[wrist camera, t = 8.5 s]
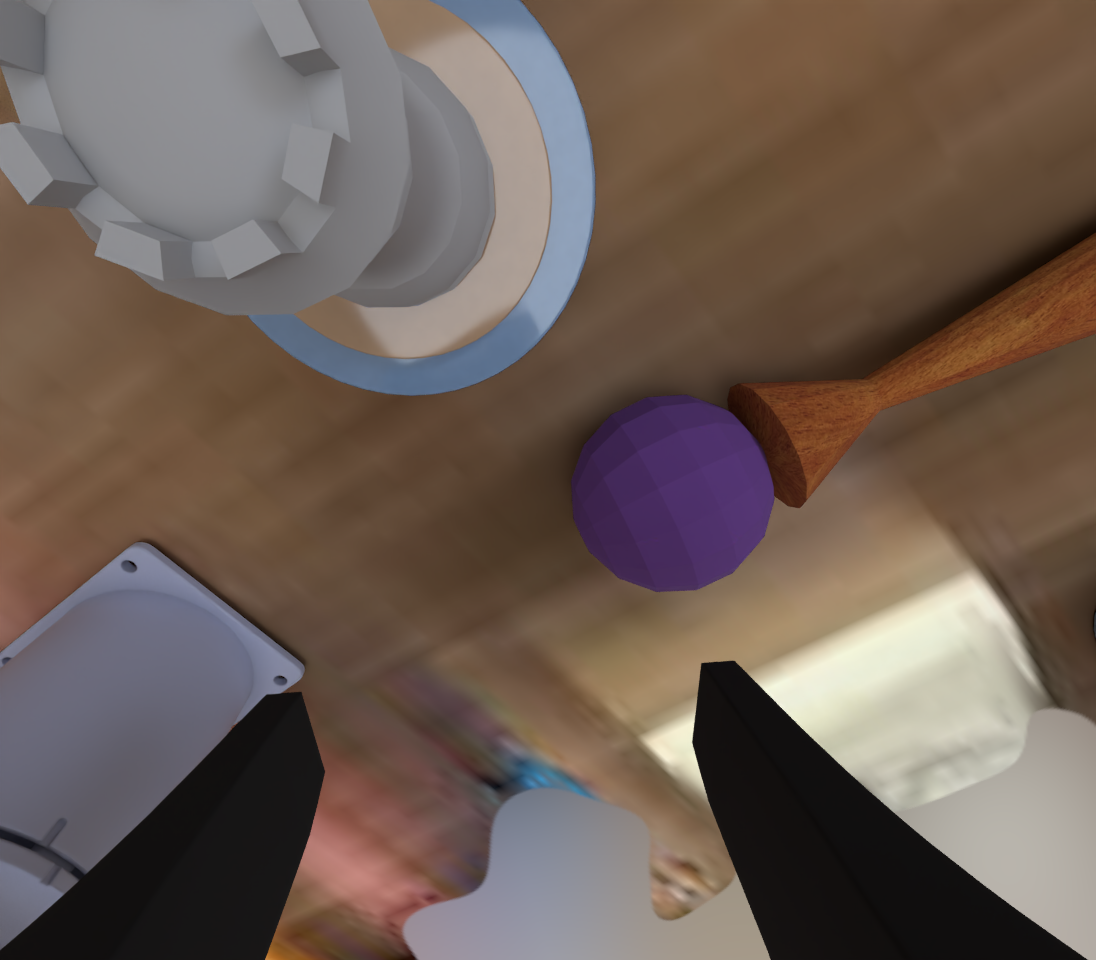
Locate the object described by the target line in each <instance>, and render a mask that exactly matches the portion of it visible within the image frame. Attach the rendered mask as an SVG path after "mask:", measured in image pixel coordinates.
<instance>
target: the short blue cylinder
mask: <svg viewBox="0 0 1096 960" xmlns="http://www.w3.org/2000/svg"><path fill="white" fill-rule="evenodd" d="M368 2H369V4H370V7H371V9H372V11H373V14H374V16H375V18H376V20H377V23H378V25H379V27H380V29H381V32H382V34H383V36H384V38H385V41H386V43H387V45H388V47H389V48H391V49H393V50H395V51H397V52H399V53H401V54H403V55H405V56H408V57H410V58H412V59H414V60H416V61H418V62H420V63H422V64H424V65H426V66H428V67H429V68H430V69H431V70H432V71H433V72H434V73H435V74H436V75H437V76H438V78H439V79H440V80H441V81H442V82H443V83H444V84H445V85H446V87H447V88H448V89H449V90H450V91H451V92H452V93H453V94H454V95H455V97H456V98H457V99H458V100H459V101H460V102H461V103H462V104H463V106H464V107H465V108H466V109H467V111H468V112H469V113H470V115H471V116H472V117H473V118H474V121H475V123H476V126H477V128H478V131H479V133H480V136H481V138H482V141H483V143H484V146H485V148H486V151H487V153H488V155H489V158H490V160H491V163H492V165H493V183H494V205H495V216H494V219H493V223H492V226H491V229H490V232H489V235H488V238H487V241H486V244H485V247H484V250H483V253H482V256H481V258H480V260H479V261H478V262H477V263H476V264H475V265H474V267H473V268H472V269H471V270H470V271H469V272H468V273H467V275H466V276H465V277H464V278H463V279H462V280H461V282H460V283H459V284H458V285H457V286H456V287H455V289H453V290H451V291H449V292H447V293H445V294H442V295H440V296H438V297H436V298H434V299H432V300H430V301H427V302H425V303H423V304H421V305H419V306H411V307H374V308H367V307H364V306H362V305H359V304H357V303H354V302H352V301H349V300H346V299H344V298H341V297H339V296H336V295H332V296H330V297H328V298H326V299H324V300H322V301H320V302H318V303H316V304H314V305H311V306H309V307H307V308H305V309H303V310H301V311H299V312H297V313H295V314H273V315H247V316H248V317H249V318H250V319H251V321H252V322H253V323H254V324H255V325H256V326H258V327H259V328H260V329H261V330H262V331H263V332H264V333H265V334H266V335H267V336H268V337H269V338H270V339H271V340H272V341H273V342H275V343H276V344H277V345H279V346H280V347H281V348H283V349H284V350H285V351H287V352H288V353H289V354H291V355H292V356H293V357H294V358H296V359H298V360H299V361H301V362H303V363H304V364H306V365H308V366H309V367H311V368H313V369H314V370H316V371H318V372H320V373H322V374H324V375H326V376H329V377H331V378H333V379H335V380H337V381H340V382H342V383H345V384H349V385H352V386H355V387H358V388H361V389H364V390H369V391H374V392H379V393H384V394H393V395H407V396H417V395H434V394H440V393H445V392H450V391H456V390H459V389H462V388H465V387H468V386H471V385H474V384H477V383H480V382H482V381H484V380H486V379H488V378H490V377H492V376H494V375H496V374H498V373H500V372H502V371H503V370H505V369H506V368H508V367H509V366H511V365H512V364H514V363H515V362H517V361H518V360H519V359H521V358H522V357H523V356H524V355H525V354H526V353H527V352H529V351H530V350H531V349H532V348H533V347H534V346H536V344H537V343H538V342H539V341H540V340H541V339H542V338H543V337H544V335H545V334H546V333H547V332H548V331H549V330H550V329H551V328H552V326H553V325H554V323H555V322H556V320H557V319H558V317H559V316H560V314H561V313H562V311H563V310H564V308H565V307H566V305H567V303H568V301H569V299H570V297H571V295H572V293H573V291H574V289H575V287H576V285H577V283H578V280H579V278H580V275H581V272H582V269H583V267H584V264H585V261H586V258H587V253H588V249H589V245H590V241H591V236H592V231H593V222H594V213H595V205H596V191H595V166H594V158H593V149H592V142H591V138H590V134H589V130H588V125H587V121H586V117H585V113H584V110H583V107H582V104H581V102H580V99H579V96H578V93H577V90H576V88H575V85H574V82H573V80H572V78H571V76H570V74H569V72H568V70H567V68H566V66H565V64H564V62H563V60H562V58H561V56H560V54H559V52H558V50H557V49H556V47H555V46H554V44H553V43H552V41H551V40H550V38H549V37H548V35H547V34H546V32H545V31H544V29H543V27H542V26H541V24H540V23H539V22H538V21H537V20H536V18H535V17H534V16H533V15H532V14H531V12H530V11H529V10H528V9H527V8H526V7H525V5H524V4H523V3H522V2H521V1H520V0H368Z"/></svg>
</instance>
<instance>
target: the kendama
mask: <svg viewBox="0 0 1096 960" xmlns="http://www.w3.org/2000/svg"><path fill="white" fill-rule="evenodd" d="M1093 334H1096V233H1094V234H1093V235H1091V236H1089V237H1088V238H1086V239H1085V240H1083V241H1081V242H1080V243H1078V244H1077V245H1075V246H1073V247H1072V248H1070V249H1069V250H1067V251H1065V252H1064V253H1062V254H1061V255H1059V256H1057V257H1056V258H1054V259H1053V260H1051V261H1049V262H1048V263H1046V264H1045V265H1043V266H1041V267H1040V268H1038V269H1037V270H1035V271H1034V272H1032V273H1030V274H1029V275H1027V276H1026V277H1024V278H1022V279H1021V280H1019V281H1018V282H1016V283H1014V284H1013V285H1011V286H1010V287H1008V288H1006V289H1005V290H1003V291H1002V292H1000V293H998V294H997V295H995V296H994V297H992V298H990V299H989V300H987V301H986V302H984V303H982V304H981V305H979V306H978V307H976V308H974V309H973V310H971V311H970V312H968V313H966V314H965V315H963V316H962V317H960V318H958V319H957V320H955V321H954V322H952V323H950V324H949V325H947V326H946V327H944V328H943V329H941V330H939V331H938V332H936V333H935V334H933V335H931V336H930V337H928V338H927V339H925V340H923V341H922V342H920V343H919V344H917V345H915V346H914V347H912V348H911V349H909V350H907V351H906V352H904V353H903V354H901V355H899V356H898V357H896V358H895V359H893V360H891V361H890V362H888V363H887V364H885V365H883V366H882V367H880V368H879V369H877V370H875V371H874V372H872V373H871V374H869V375H867V376H866V377H864V378H863V379H856V380H827V381H798V382H769V383H741V384H737V385H735V386H733V387H731V388H730V391H729V395H728V399H727V400H728V408H729V411H727V410H726V409H724V408H722V407H719V406H716V405H714V404H711V403H708V402H705V401H702V400H699V399H697V398H694V397H691V396H688V395H674V396H659V397H646V398H644V399H642V400H640V401H638V402H636V403H634V404H632V405H630V406H628V407H626V408H624V409H622V410H620V411H618V412H616V413H614V414H612V415H610V416H609V418H608V419H607V420H606V421H605V422H604V423H603V424H602V425H601V427H600V428H599V429H598V430H597V431H596V432H595V433H594V434H593V436H592V437H591V438H590V439H589V440H588V441H587V442H586V443H585V444H584V446H583V449H582V451H581V454H580V457H579V460H578V463H577V466H576V468H575V471H574V474H573V477H572V480H571V486H572V503H573V519H574V521H575V524H576V526H577V528H578V530H579V532H580V534H581V536H582V538H583V540H584V542H585V544H586V546H587V548H588V550H589V552H590V553H591V554H593V555H594V556H595V557H596V558H597V559H598V560H599V561H600V562H601V563H603V564H604V565H605V566H606V567H607V568H608V569H609V570H610V571H611V572H613V573H614V574H615V575H616V576H617V577H618V578H620V579H622V580H625V581H628V582H631V583H633V584H636V585H639V586H642V587H645V588H647V589H650V590H653V591H656V592H663V591H687V590H698V589H700V588H702V587H704V586H706V585H708V584H710V583H713V582H715V581H717V580H719V579H721V578H723V577H725V576H727V575H730V574H732V573H733V572H734V571H735V570H736V569H737V567H738V566H739V565H740V564H741V563H742V562H743V561H744V559H745V558H746V557H747V556H748V555H749V554H750V553H751V551H752V550H753V549H754V548H755V547H756V546H757V545H758V543H759V542H760V541H761V540H762V538H763V537H764V536H765V532H766V528H767V525H768V521H769V517H770V514H771V510H772V506H773V503H774V496H775V497H777V498H778V499H779V500H781V501H782V502H783V503H785V504H786V505H787V506H790V507H796V508H800V507H801V506H802V505H803V504H804V503H805V502H806V501H807V499H808V498H809V497H810V496H811V494H812V493H813V492H814V491H815V489H816V488H817V487H818V486H819V485H820V483H821V482H822V481H823V480H824V478H825V477H826V476H827V475H828V473H829V472H830V471H831V470H832V468H833V467H834V466H835V465H836V464H837V462H838V461H839V460H840V459H841V457H842V456H843V455H844V454H845V452H846V451H847V450H848V449H849V448H850V446H851V445H852V444H853V443H854V441H855V440H856V439H857V438H858V436H859V435H860V434H861V433H862V432H863V430H864V429H865V428H866V427H867V425H868V424H869V423H870V422H871V420H872V419H873V418H874V417H875V416H876V414H877V413H878V412H879V411H880V410H883V409H886V408H889V407H892V406H894V405H897V404H900V403H903V402H906V401H908V400H911V399H914V398H917V397H920V396H922V395H925V394H928V393H931V392H934V391H936V390H939V389H942V388H945V387H948V386H950V385H953V384H956V383H959V382H962V381H964V380H967V379H970V378H973V377H976V376H978V375H981V374H984V373H987V372H990V371H992V370H995V369H998V368H1001V367H1004V366H1006V365H1009V364H1012V363H1015V362H1018V361H1020V360H1023V359H1026V358H1029V357H1032V356H1034V355H1037V354H1040V353H1043V352H1046V351H1048V350H1051V349H1054V348H1057V347H1060V346H1062V345H1065V344H1068V343H1071V342H1074V341H1076V340H1079V339H1082V338H1085V337H1088V336H1090V335H1093Z"/></svg>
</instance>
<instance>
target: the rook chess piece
mask: <svg viewBox="0 0 1096 960" xmlns="http://www.w3.org/2000/svg"><path fill="white" fill-rule="evenodd" d="M0 66H1V69H2V72H3V74H4V77H5V80H6V83H7V86H8V89H9V92H10V94H11V97H12V100H13V103H14V106H15V109H16V111H17V114H18V117H19V120H20V123H21V124H18V123H14V122H11V123H6V124H2V125H0V168H1V169H2V171H3V172H4V173H5V175H6V176H7V177H8V179H9V180H10V181H11V183H12V184H13V185H14V187H15V188H16V189H17V191H18V192H19V193H20V195H21V196H22V197H23V199H24V200H25V201H26V203H27V204H28V205H39V206H51V207H62V208H68V209H69V210H70V212H71V213H72V214H73V216H74V217H75V219H76V220H77V221H78V223H79V224H80V225H81V227H82V228H83V230H84V231H85V232H86V234H87V235H88V236H89V238H90V239H91V240H93V241H94V242H95V243H97V244H98V246H97V249H96V252H95V256H97V257H100V258H103V259H106V260H108V261H111V262H114V263H117V264H119V265H122V266H125V267H127V268H129V269H130V270H132V271H133V272H134V273H135V274H137V275H138V276H139V277H141V278H142V279H143V280H145V281H146V282H147V283H148V284H150V285H151V286H152V287H154V288H155V289H156V290H159V291H161V292H164V293H167V294H170V295H172V296H175V297H178V298H181V299H183V300H186V301H189V302H192V303H194V304H197V305H200V306H203V307H205V308H208V309H211V310H214V311H216V312H219V313H222V314H225V315H273V314H295V313H297V312H299V311H301V310H303V309H305V308H307V307H309V306H311V305H314V304H316V303H318V302H320V301H322V300H324V299H326V298H328V297H330V296H332V295H336V296H339V297H341V298H344V299H346V300H349V301H352V302H354V303H357V304H359V305H362V306H364V307H367V308H374V307H411V306H419V305H421V304H423V303H425V302H427V301H430V300H432V299H434V298H436V297H438V296H440V295H442V294H445V293H447V292H449V291H451V290H453V289H455V287H456V286H457V285H458V284H459V283H460V282H461V280H462V279H463V278H464V277H465V276H466V275H467V273H468V272H469V271H470V270H471V269H472V268H473V267H474V265H475V264H476V263H477V262H478V261H479V260H480V258H481V256H482V253H483V250H484V247H485V244H486V241H487V238H488V235H489V232H490V229H491V226H492V223H493V219H494V216H495V205H494V183H493V165H492V163H491V160H490V158H489V155H488V153H487V151H486V148H485V146H484V143H483V141H482V138H481V136H480V133H479V131H478V128H477V126H476V123H475V121H474V118H473V117H472V116H471V115H470V113H469V112H468V111H467V109H466V108H465V107H464V106H463V104H462V103H461V102H460V101H459V100H458V99H457V98H456V97H455V95H454V94H453V93H452V92H451V91H450V90H449V89H448V88H447V87H446V85H445V84H444V83H443V82H442V81H441V80H440V79H439V78H438V76H437V75H436V74H435V73H434V72H433V71H432V70H431V69H430V68H429V67H428V66H426V65H424V64H422V63H420V62H418V61H416V60H414V59H412V58H410V57H408V56H405V55H403V54H401V53H399V52H397V51H395V50H393V49H391V48H389V47H388V45H387V43H386V41H385V38H384V36H383V34H382V32H381V29H380V27H379V25H378V23H377V20H376V18H375V16H374V14H373V11H372V9H371V7H370V4H369V2H368V0H0Z"/></svg>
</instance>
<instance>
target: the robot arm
mask: <svg viewBox="0 0 1096 960" xmlns="http://www.w3.org/2000/svg"><path fill="white" fill-rule="evenodd" d="M129 561H132V562H134V563H135V565H136V566H133V565H131V564H130V562H129ZM304 671H305V668H304V665H303V664H302V663H301V662H300V661H299V660H297V659H296V658H295V657H294V656H292V655H291V654H290V653H288V652H287V651H286V650H285V649H283V648H282V647H281V646H280V645H278V644H277V643H276V642H274V641H273V640H272V639H271V638H269V637H268V636H267V635H265V634H264V633H263V632H262V631H260V630H259V629H258V628H257V627H255V626H254V625H253V624H251V623H250V622H249V621H248V620H246V619H245V618H244V617H243V616H241V615H240V614H239V613H237V612H236V611H235V610H234V609H232V608H231V607H230V606H229V605H227V604H226V603H225V602H223V601H222V600H221V599H220V598H218V597H217V596H216V595H214V594H213V593H212V592H211V591H209V590H208V589H207V588H206V587H204V586H203V585H202V584H200V583H199V582H198V581H197V580H195V579H194V578H193V577H192V576H190V575H189V574H188V573H186V572H185V571H184V570H183V569H181V568H180V567H179V566H178V565H176V564H175V563H174V562H172V561H171V560H170V559H169V558H167V557H166V556H165V555H164V554H162V553H161V552H160V551H158V550H157V549H156V548H155V547H153V546H152V545H150V544H148V543H144V542H136V543H134V544H132V545H131V546H130V547H128V548H127V549H126V550H125V551H123V552H122V553H121V554H120V555H119V556H117V557H116V558H115V559H114V560H113V561H111V562H110V563H109V564H108V565H106V566H105V567H104V568H103V569H102V570H100V571H99V572H98V573H97V574H95V575H94V576H93V577H92V578H91V579H89V580H88V581H87V582H86V583H84V584H83V585H82V586H81V587H80V588H78V589H77V590H76V591H75V592H73V593H72V594H71V595H70V596H69V597H67V598H66V599H65V600H64V601H62V602H61V603H60V604H59V605H58V606H56V607H55V608H54V609H53V610H51V611H50V612H49V613H48V614H47V615H45V616H44V617H43V618H42V619H40V620H39V621H38V622H37V623H36V624H34V625H33V626H32V627H31V628H29V629H28V630H27V631H26V632H25V633H23V634H22V635H21V636H20V637H18V638H17V639H16V640H15V641H14V642H12V643H11V644H10V645H9V646H7V647H6V648H5V649H4V650H3V651H1V652H0V960H265V958H266V956H267V953H268V950H269V947H270V945H271V942H272V939H273V936H274V933H275V931H276V928H277V925H278V922H279V920H280V917H281V914H282V911H283V909H284V906H285V903H286V900H287V898H288V895H289V892H290V889H291V887H292V884H293V881H294V878H295V875H296V873H297V870H298V867H299V864H300V861H301V859H302V856H303V853H304V850H305V847H306V844H307V841H308V838H309V836H310V832H311V828H312V824H313V820H314V816H315V812H316V808H317V804H318V800H319V795H320V791H321V787H322V782H323V778H324V774H325V770H324V766H323V763H322V760H321V756H320V753H319V750H318V746H317V743H316V740H315V736H314V733H313V730H312V726H311V723H310V719H309V716H308V713H307V709H306V706H305V703H304V699H303V696H302V693H301V692H294V693H282V692H283V691H285V690H286V689H288V688H289V687H290V686H292V685H293V684H295V683H296V682H298V681H299V680H300V679H301V678H302V676H303V674H304ZM279 676H283V677H285V678H282V677H279ZM240 720H241V721H240ZM239 721H240V722H239ZM237 722H239V723H238V724H237V725H236V726H235V727H234V728H233V729H232V730H231V731H230V729H231V727H232V726H233V725H234V724H236V723H237ZM229 731H230V732H229ZM228 732H229V733H228ZM692 743H693V747H694V751H695V754H696V758H697V762H698V766H699V769H700V773H701V776H702V780H703V783H704V787H705V790H706V794H707V797H708V801H709V803H710V806H711V809H712V811H713V814H714V817H715V819H716V822H717V824H718V827H719V829H720V832H721V834H722V837H723V840H724V842H725V845H726V847H727V850H728V852H729V855H730V857H731V860H732V862H733V865H734V867H735V870H736V872H737V875H738V877H739V880H740V882H741V885H742V887H743V890H744V893H745V895H746V898H747V900H748V903H749V905H750V908H751V910H752V913H753V915H754V918H755V920H756V923H757V925H758V928H759V930H760V933H761V935H762V938H763V940H764V943H765V945H766V948H767V950H768V953H769V956H770V959H771V960H1087V959H1086V958H1084V957H1083V956H1082V955H1080V954H1078V953H1077V952H1076V951H1074V950H1073V949H1072V948H1070V947H1069V946H1067V945H1066V944H1064V943H1063V942H1061V941H1060V940H1059V939H1057V938H1056V937H1055V936H1053V935H1052V934H1050V933H1049V932H1047V931H1046V930H1045V929H1043V928H1042V927H1040V926H1039V925H1037V924H1036V923H1035V922H1033V921H1032V920H1030V919H1029V918H1028V917H1026V916H1025V915H1023V914H1022V913H1021V912H1019V911H1018V910H1016V909H1015V908H1014V907H1012V906H1011V905H1009V904H1008V903H1007V902H1006V901H1004V900H1003V899H1002V898H1000V897H999V896H998V895H996V894H995V893H994V892H992V891H991V890H990V889H988V888H986V886H984V885H983V884H982V883H980V882H979V881H978V880H976V879H975V878H974V877H973V876H971V875H970V874H969V873H967V872H966V871H965V870H964V869H962V868H961V867H960V866H959V865H957V864H956V863H955V862H954V861H952V860H951V859H950V858H948V857H947V856H946V855H945V854H943V853H942V852H941V851H939V850H938V849H937V848H935V847H934V846H933V845H932V844H931V843H929V842H928V841H927V840H926V839H924V838H923V837H922V836H921V835H920V834H918V833H917V832H916V831H915V830H914V829H912V828H911V827H910V826H909V825H908V824H906V823H905V822H904V821H903V820H902V819H901V818H899V817H898V816H897V815H896V814H895V813H894V812H892V811H891V810H890V809H889V808H888V807H887V806H886V805H884V804H883V803H882V802H881V801H880V800H879V799H878V798H876V797H875V796H874V795H873V794H872V793H871V792H870V791H868V790H867V789H866V788H865V787H864V786H863V785H862V784H861V783H859V782H858V781H857V780H856V779H855V778H854V777H853V776H852V775H851V774H850V773H848V772H847V771H846V770H845V769H844V768H843V767H842V766H841V765H840V764H839V763H838V762H837V761H836V760H835V759H834V758H832V757H831V756H830V755H829V754H828V753H827V752H826V751H825V750H824V749H823V748H822V747H821V746H820V745H819V744H818V743H817V742H815V741H814V740H813V739H812V738H811V737H810V736H809V735H808V734H807V733H806V732H805V731H804V730H803V729H802V728H801V727H800V726H799V725H798V724H797V723H796V722H795V721H794V720H793V719H792V718H791V717H790V716H789V715H788V714H787V713H786V712H785V711H784V710H783V709H782V708H781V707H780V706H779V705H778V704H777V703H776V702H775V701H774V700H773V699H772V698H771V697H770V696H769V695H768V694H767V693H766V692H765V691H764V690H763V689H762V688H761V687H760V686H759V685H758V684H757V683H756V682H755V681H754V680H753V679H752V678H751V677H750V676H749V675H748V674H747V673H746V672H745V671H744V670H743V669H742V668H741V667H740V666H739V665H738V664H737V663H736V662H735V661H723V662H709V663H701V672H700V680H699V689H698V697H697V706H696V715H695V723H694V732H693V740H692Z"/></svg>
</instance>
